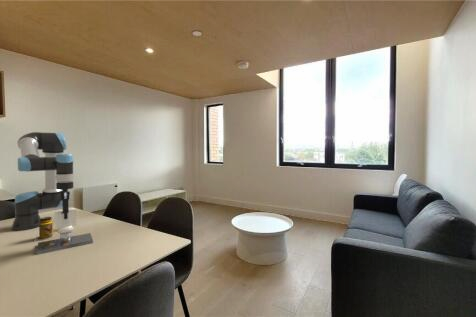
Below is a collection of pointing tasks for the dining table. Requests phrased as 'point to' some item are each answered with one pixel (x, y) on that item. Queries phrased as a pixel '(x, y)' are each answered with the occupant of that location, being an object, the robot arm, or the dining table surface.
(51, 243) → the base plate
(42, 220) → the condiment
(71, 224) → the lever handle
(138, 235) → the dining table surface
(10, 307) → the dining table surface
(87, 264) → the dining table surface
